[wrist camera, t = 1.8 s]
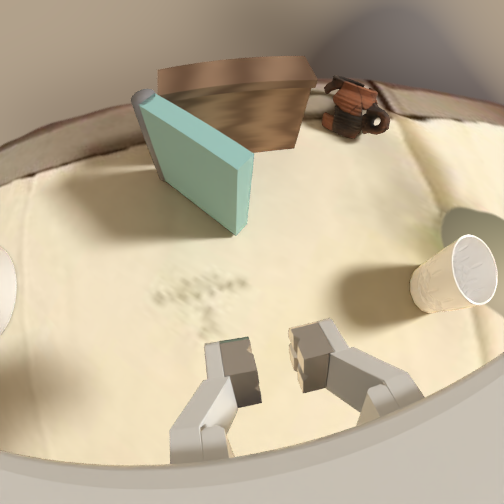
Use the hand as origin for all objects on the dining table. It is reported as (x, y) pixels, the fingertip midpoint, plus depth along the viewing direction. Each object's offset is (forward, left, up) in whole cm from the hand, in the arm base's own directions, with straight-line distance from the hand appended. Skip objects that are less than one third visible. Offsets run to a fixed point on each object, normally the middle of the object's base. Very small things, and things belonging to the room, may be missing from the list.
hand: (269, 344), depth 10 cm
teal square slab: (-2, +19, -23) cm, 30 cm away
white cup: (+25, +1, -24) cm, 34 cm away
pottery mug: (+22, +29, -24) cm, 44 cm away
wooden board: (+4, +26, -23) cm, 35 cm away
